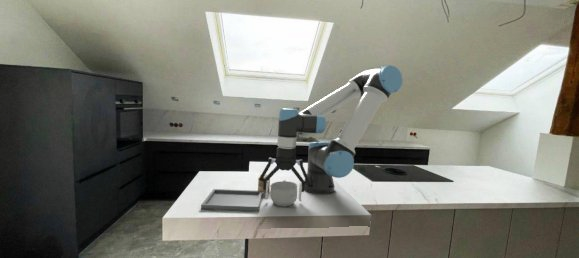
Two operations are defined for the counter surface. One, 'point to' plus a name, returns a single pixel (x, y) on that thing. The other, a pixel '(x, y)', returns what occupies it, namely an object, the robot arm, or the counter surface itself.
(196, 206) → the counter surface
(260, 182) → the oak block
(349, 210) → the counter surface
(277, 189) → the teacup
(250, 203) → the tray
